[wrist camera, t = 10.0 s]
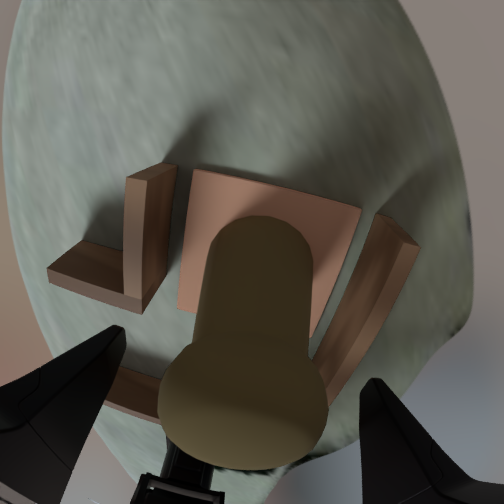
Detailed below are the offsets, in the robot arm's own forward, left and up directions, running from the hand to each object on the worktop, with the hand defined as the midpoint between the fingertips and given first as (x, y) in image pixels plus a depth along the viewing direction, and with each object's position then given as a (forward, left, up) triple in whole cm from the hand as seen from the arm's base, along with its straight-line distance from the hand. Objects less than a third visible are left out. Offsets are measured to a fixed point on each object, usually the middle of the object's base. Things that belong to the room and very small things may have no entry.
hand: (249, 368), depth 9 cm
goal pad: (0, 0, -8) cm, 8 cm away
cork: (0, 0, -8) cm, 8 cm away
